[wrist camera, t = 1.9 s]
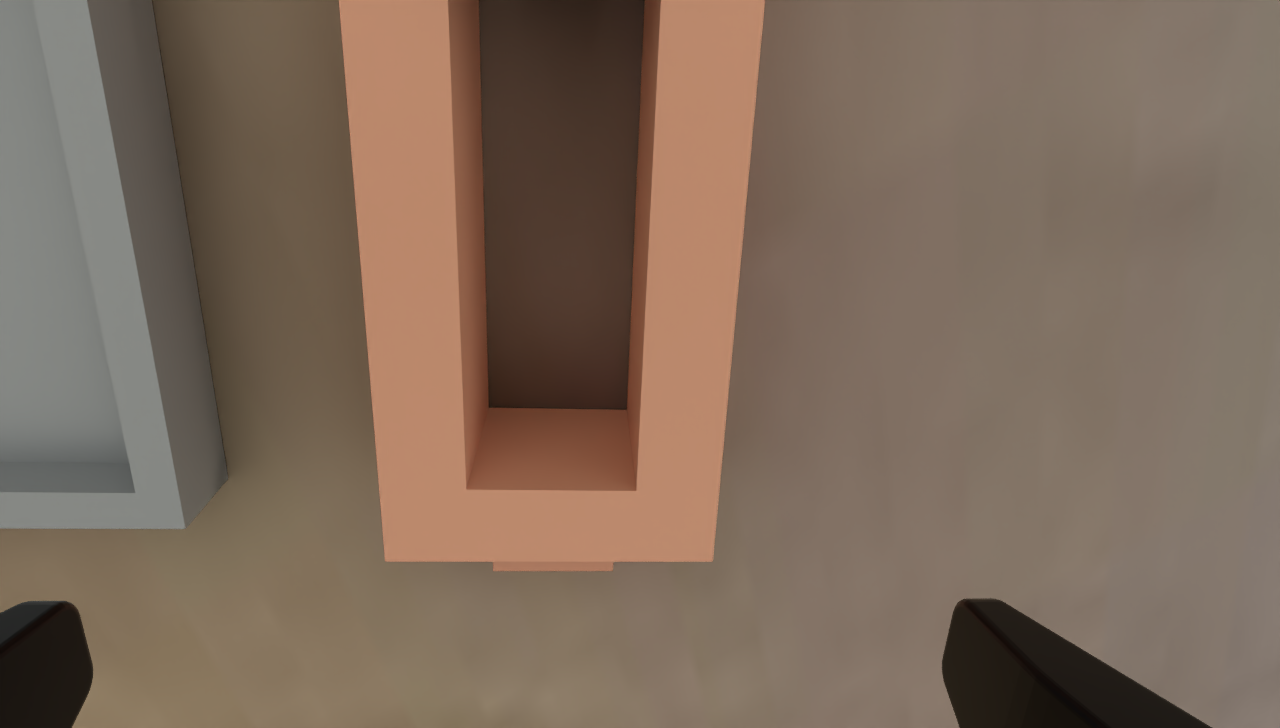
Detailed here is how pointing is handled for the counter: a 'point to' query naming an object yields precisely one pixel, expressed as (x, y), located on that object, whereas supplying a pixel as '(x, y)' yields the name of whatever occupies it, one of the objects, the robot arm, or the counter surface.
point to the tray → (97, 280)
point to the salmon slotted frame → (456, 299)
